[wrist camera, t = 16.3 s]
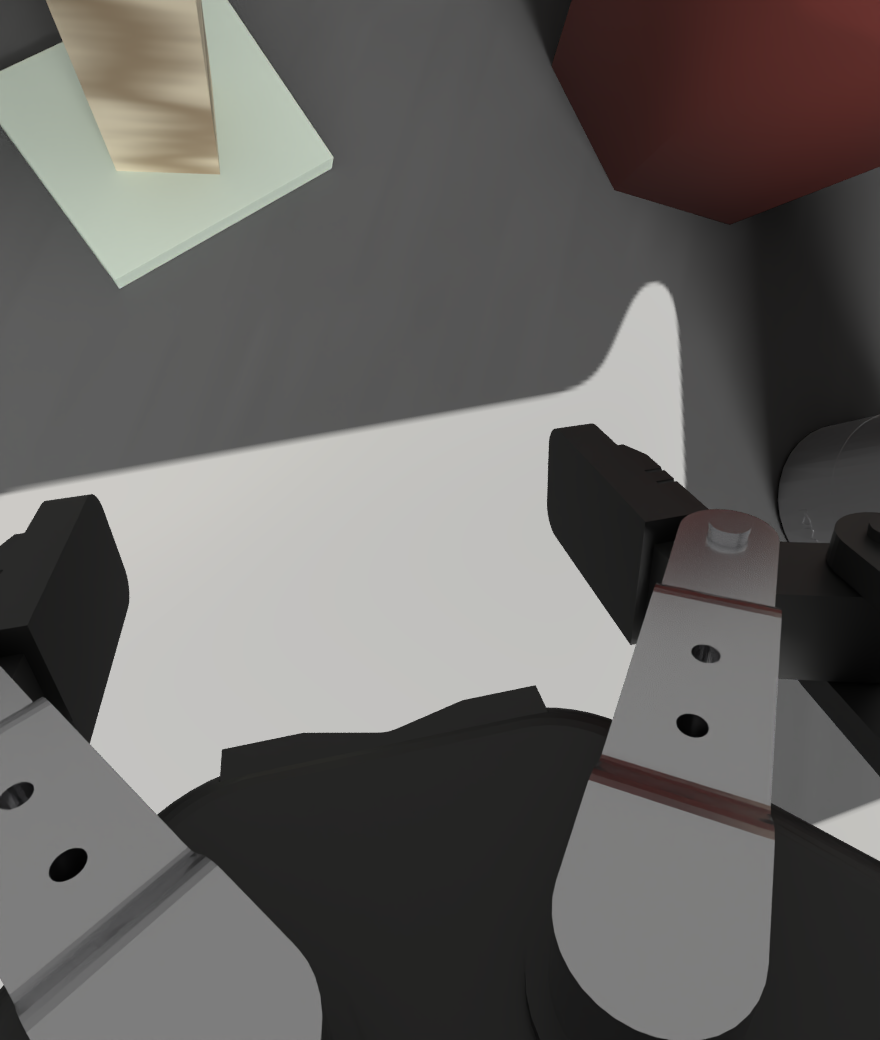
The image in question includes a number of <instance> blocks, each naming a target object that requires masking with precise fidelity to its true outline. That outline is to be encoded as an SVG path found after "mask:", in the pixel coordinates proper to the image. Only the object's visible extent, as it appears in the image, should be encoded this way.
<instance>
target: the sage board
mask: <svg viewBox="0 0 880 1040" xmlns="http://www.w3.org/2000/svg"><path fill="white" fill-rule="evenodd" d="M201 1H202V9H203V17H204V24H205V32H206V40H207V47H208V55H209V63H210V70H211V78H212V88H213V99H214V110H215V122H216V133H217V144H218V155H219V166H220V174H192V173H162V172H133V171H116V169H115V166H114V164H113V161H112V159H111V157H110V154H109V152H108V149H107V147H106V144H105V142H104V140H103V137H102V135H101V132H100V130H99V128H98V125H97V123H96V120H95V118H94V115H93V113H92V111H91V108H90V106H89V103H88V101H87V99H86V96H85V94H84V91H83V89H82V86H81V84H80V82H79V79H78V77H77V74H76V72H75V70H74V67H73V65H72V62H71V60H70V58H69V55H68V53H67V50H66V48H65V45H64V43H63V42H61V43H59V44H57V45H55V46H53V47H51V48H48V49H46V50H44V51H42V52H40V53H38V54H36V55H34V56H31V57H29V58H27V59H25V60H23V61H21V62H19V63H17V64H14V65H12V66H10V67H8V68H6V69H4V70H2V71H0V126H1V127H2V128H3V130H4V131H5V132H6V134H7V135H8V137H9V138H10V139H11V141H12V142H13V143H14V145H15V146H16V147H17V149H18V150H19V152H20V153H21V154H22V156H23V157H24V158H25V160H26V161H27V163H28V164H29V165H30V167H31V168H32V169H33V171H34V172H35V174H36V175H37V176H38V178H39V179H40V180H41V182H42V183H43V185H44V186H45V187H46V189H47V190H48V191H49V193H50V194H51V196H52V197H53V198H54V200H55V201H56V202H57V204H58V205H59V206H60V208H61V209H62V211H63V212H64V213H65V215H66V216H67V217H68V219H69V220H70V222H71V223H72V224H73V226H74V227H75V228H76V230H77V231H78V233H79V234H80V235H81V237H82V238H83V239H84V241H85V242H86V244H87V245H88V246H89V248H90V249H91V250H92V252H93V253H94V255H95V256H96V257H97V259H98V260H99V261H100V263H101V264H102V265H103V267H104V268H105V270H106V271H107V272H108V274H109V275H110V276H111V278H112V279H113V281H114V282H115V283H116V285H117V286H118V287H119V289H120V288H122V287H124V286H125V285H127V284H129V283H131V282H132V281H134V280H136V279H138V278H139V277H141V276H143V275H145V274H147V273H148V272H150V271H152V270H154V269H155V268H157V267H159V266H161V265H162V264H164V263H166V262H168V261H169V260H171V259H173V258H175V257H176V256H178V255H180V254H182V253H183V252H185V251H187V250H189V249H191V248H192V247H194V246H196V245H198V244H199V243H201V242H203V241H205V240H206V239H208V238H210V237H212V236H213V235H215V234H217V233H219V232H220V231H222V230H224V229H226V228H228V227H229V226H231V225H233V224H235V223H236V222H238V221H240V220H242V219H243V218H245V217H247V216H249V215H250V214H252V213H254V212H256V211H257V210H259V209H261V208H263V207H265V206H266V205H268V204H270V203H272V202H273V201H275V200H277V199H279V198H280V197H282V196H284V195H286V194H287V193H289V192H291V191H293V190H294V189H296V188H298V187H300V186H302V185H303V184H305V183H307V182H309V181H310V180H312V179H314V178H316V177H317V176H319V175H321V174H323V173H324V172H326V171H328V170H330V169H331V168H332V163H333V156H332V154H331V153H330V151H329V150H328V149H327V147H326V146H325V144H324V143H323V141H322V140H321V138H320V137H319V135H318V134H317V132H316V131H315V129H314V128H313V126H312V125H311V123H310V122H309V120H308V119H307V117H306V116H305V114H304V113H303V111H302V110H301V108H300V107H299V105H298V104H297V102H296V101H295V100H294V98H293V97H292V95H291V94H290V92H289V91H288V89H287V88H286V86H285V85H284V83H283V82H282V80H281V79H280V77H279V76H278V74H277V73H276V71H275V70H274V68H273V67H272V65H271V64H270V62H269V61H268V59H267V58H266V56H265V55H264V53H263V52H262V51H261V49H260V48H259V46H258V45H257V43H256V42H255V40H254V39H253V37H252V36H251V34H250V33H249V31H248V30H247V28H246V27H245V25H244V24H243V22H242V21H241V19H240V18H239V16H238V15H237V13H236V12H235V10H234V9H233V7H232V6H231V4H230V3H229V2H228V0H201Z"/></svg>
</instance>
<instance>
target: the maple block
mask: <svg viewBox="0 0 880 1040" xmlns="http://www.w3.org/2000/svg"><path fill="white" fill-rule="evenodd" d="M46 2H47V4H48V7H49V9H50V12H51V14H52V16H53V19H54V21H55V24H56V26H57V29H58V31H59V33H60V36H61V38H62V41H63V43H64V45H65V48H66V50H67V53H68V55H69V58H70V60H71V62H72V65H73V67H74V70H75V72H76V74H77V77H78V79H79V82H80V84H81V86H82V89H83V91H84V94H85V96H86V99H87V101H88V103H89V106H90V108H91V111H92V113H93V115H94V118H95V120H96V123H97V125H98V128H99V130H100V132H101V135H102V137H103V140H104V142H105V144H106V147H107V149H108V152H109V154H110V157H111V159H112V161H113V164H114V166H115V169H116V171H133V172H162V173H192V174H220V166H219V155H218V144H217V133H216V122H215V110H214V99H213V88H212V78H211V70H210V63H209V55H208V47H207V40H206V32H205V24H204V17H203V9H202V1H201V0H46Z"/></svg>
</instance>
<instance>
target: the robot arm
mask: <svg viewBox="0 0 880 1040" xmlns="http://www.w3.org/2000/svg"><path fill="white" fill-rule="evenodd" d="M548 460H549V461H548V493H547V510H548V517H549V521H550V525H551V528H552V531H553V533H554V535H555V536H556V538H557V539H558V541H559V542H560V544H561V545H562V546H563V548H564V549H565V551H566V552H567V553H568V555H569V557H570V558H571V559H572V561H573V562H574V564H575V565H576V567H577V568H578V570H579V571H580V572H581V574H582V575H583V577H584V578H585V580H586V581H587V583H588V584H589V585H590V587H591V588H592V590H593V591H594V593H595V594H596V595H597V597H598V598H599V600H600V601H601V603H602V604H603V606H604V607H605V609H606V610H607V611H608V613H609V614H610V616H611V617H612V619H613V620H614V622H615V623H616V624H617V626H618V627H619V629H620V630H621V632H622V633H623V635H624V636H625V637H626V639H627V640H628V642H629V643H630V645H632V644H636V647H635V650H634V654H633V657H632V660H631V663H630V666H629V669H628V672H627V676H626V679H625V682H624V685H623V689H622V691H621V695H620V698H619V701H618V704H617V708H616V710H615V714H614V717H613V720H611V719H609V718H606V717H603V716H599V715H596V714H592V713H588V712H583V711H578V710H572V709H563V708H546V707H545V704H544V702H543V701H542V698H541V696H540V694H539V692H538V690H537V688H536V686H530V687H525V688H520V689H516V690H510V691H506V692H501V693H496V694H491V695H486V696H482V697H477V698H472V699H467V700H462V701H460V702H458V703H455V704H453V705H451V706H448V707H446V708H444V709H441V710H439V711H437V712H434V713H432V714H430V715H428V716H425V717H423V718H421V719H418V720H416V721H414V722H411V723H409V724H407V725H405V726H402V727H400V728H398V729H395V730H392V731H389V732H383V733H301V734H296V735H291V736H286V737H281V738H276V739H271V740H266V741H262V742H257V743H252V744H247V745H242V746H237V747H232V748H228V749H223V750H222V758H221V772H220V776H219V777H217V778H215V779H213V780H210V781H208V782H206V783H204V784H203V785H201V786H199V787H197V788H196V789H193V790H192V791H190V792H188V793H187V794H185V795H184V796H182V797H181V798H179V799H177V800H176V801H174V802H173V803H172V804H170V805H169V806H168V807H166V808H165V809H164V810H163V811H161V812H160V813H159V814H158V815H156V813H155V812H154V811H153V810H152V809H151V808H150V807H149V806H148V805H147V804H146V803H145V802H144V801H143V800H142V799H141V798H140V797H139V795H138V794H137V793H136V792H135V791H134V790H133V789H132V788H131V787H130V786H129V785H128V784H127V783H126V782H125V781H124V780H123V779H122V778H121V777H120V776H119V774H118V773H117V772H116V771H114V769H113V768H112V767H111V766H110V765H109V764H108V763H107V762H106V761H105V760H104V759H103V758H102V757H101V755H99V753H97V751H96V750H95V749H94V748H93V747H92V746H91V745H90V741H91V737H92V734H93V730H94V726H95V723H96V719H97V716H98V712H99V709H100V705H101V702H102V698H103V694H104V691H105V687H106V684H107V680H108V677H109V673H110V670H111V666H112V662H113V659H114V656H115V652H116V648H117V645H118V641H119V638H120V634H121V631H122V627H123V623H124V620H125V617H126V613H127V609H128V605H129V586H128V579H127V575H126V571H125V568H124V566H123V563H122V560H121V557H120V554H119V552H118V549H117V546H116V543H115V541H114V538H113V535H112V532H111V529H110V527H109V524H108V521H107V519H106V516H105V513H104V510H103V508H102V505H101V503H100V501H99V500H98V499H97V497H96V496H95V495H93V494H91V495H84V496H77V497H70V498H63V499H56V500H49V501H44V502H43V503H42V504H41V506H40V508H39V509H38V511H37V513H36V514H35V516H34V518H33V520H32V522H31V523H30V525H29V527H28V528H27V530H26V532H25V533H22V534H16V535H13V536H12V537H11V538H10V539H8V540H7V541H6V542H5V543H3V544H2V545H1V546H0V979H1V981H2V982H3V984H4V985H3V987H2V988H1V989H0V1040H880V861H878V860H876V859H874V858H873V857H871V856H869V855H867V854H865V853H863V852H862V851H860V850H858V849H856V848H854V847H852V846H850V845H848V844H847V843H844V842H843V841H841V840H839V839H837V838H835V837H833V836H832V835H830V834H828V833H826V832H824V831H822V830H821V829H819V828H817V827H815V826H813V825H811V824H809V823H808V822H806V821H804V820H802V819H800V818H798V817H796V816H794V815H793V814H791V813H789V812H787V811H785V810H783V809H781V808H780V807H778V806H776V805H774V804H772V803H771V791H772V774H773V757H774V740H775V723H776V706H777V689H778V679H794V680H798V681H799V682H800V683H801V685H802V686H803V687H804V688H805V689H806V691H807V692H808V693H809V694H810V695H811V697H812V698H813V699H814V700H815V701H816V702H817V704H818V705H819V706H820V707H821V708H822V709H823V711H824V712H825V713H826V714H827V715H828V716H829V718H830V719H831V720H832V721H833V722H834V723H835V725H836V726H837V727H838V728H839V729H840V731H841V732H842V733H843V734H844V735H845V736H846V738H847V739H848V740H849V741H850V742H851V743H852V745H853V746H854V747H855V748H856V749H857V750H858V752H859V753H860V754H861V755H862V756H863V757H864V759H865V760H866V761H867V762H868V763H869V765H870V766H871V767H872V768H873V769H874V770H875V772H876V773H877V774H878V775H879V776H880V415H876V416H872V417H867V418H863V419H858V420H854V421H849V422H845V423H840V424H836V425H831V426H827V427H823V428H820V429H818V430H816V431H814V432H812V433H810V434H809V435H808V436H806V437H805V438H804V439H803V440H801V441H800V442H799V443H798V445H797V446H796V447H795V448H794V450H793V451H792V452H791V453H790V455H789V457H788V459H787V462H786V464H785V466H784V468H783V471H782V475H781V479H780V483H779V494H778V504H779V513H780V519H781V522H782V525H783V529H784V532H785V534H786V536H787V538H788V540H789V542H780V540H779V536H778V534H777V532H776V531H775V530H774V528H772V527H771V526H770V525H769V524H767V523H766V522H764V521H763V520H761V519H759V518H757V517H754V516H752V515H749V514H746V513H742V512H738V511H733V510H724V509H710V510H709V509H708V508H706V507H705V506H704V505H703V504H702V503H701V502H700V501H699V500H697V499H696V498H695V497H694V496H693V495H692V494H691V493H690V492H688V491H687V490H686V489H685V488H684V487H683V486H682V485H680V484H679V483H678V482H677V481H676V482H674V478H673V477H671V476H670V475H669V474H668V473H667V472H666V471H664V470H663V471H662V469H661V467H660V466H659V465H658V464H657V463H655V462H654V461H653V460H652V459H651V458H650V457H649V456H648V455H646V454H644V453H642V452H639V451H637V450H635V449H633V448H630V447H628V446H625V445H617V444H615V443H614V442H613V441H612V440H611V439H610V438H609V437H608V436H607V435H606V434H604V433H603V431H601V430H600V429H599V428H598V427H597V426H596V425H595V424H585V425H578V426H571V427H564V428H557V429H554V430H553V431H552V432H551V435H550V439H549V459H548Z"/></svg>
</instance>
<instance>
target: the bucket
mask: <svg viewBox="0 0 880 1040" xmlns="http://www.w3.org/2000/svg"><path fill="white" fill-rule="evenodd" d="M552 68H553V70H554V72H555V74H556V76H557V78H558V80H559V82H560V84H561V86H562V88H563V90H564V92H565V94H566V96H567V98H568V100H569V102H570V103H571V105H572V107H573V109H574V111H575V113H576V115H577V117H578V119H579V121H580V123H581V125H582V127H583V129H584V131H585V133H586V135H587V137H588V139H589V141H590V143H591V145H592V147H593V149H594V151H595V153H596V155H597V157H598V159H599V161H600V163H601V164H602V166H603V168H604V170H605V172H606V174H607V176H608V178H609V180H610V182H611V184H612V186H613V188H614V190H616V191H620V192H623V193H626V194H630V195H633V196H636V197H640V198H643V199H646V200H650V201H653V202H656V203H659V204H663V205H666V206H669V207H673V208H676V209H679V210H683V211H686V212H689V213H693V214H696V215H699V216H703V217H706V218H709V219H713V220H716V221H719V222H723V223H726V224H729V225H730V224H733V223H735V222H738V221H740V220H743V219H746V218H748V217H751V216H753V215H756V214H758V213H761V212H764V211H766V210H769V209H771V208H774V207H777V206H779V205H782V204H784V203H787V202H789V201H792V200H795V199H797V198H800V197H802V196H805V195H807V194H810V193H813V192H815V191H818V190H820V189H823V188H825V187H828V186H831V185H833V184H836V183H838V182H841V181H843V180H846V179H849V178H851V177H854V176H856V175H859V174H862V173H864V172H867V171H869V170H872V169H874V168H877V167H880V0H572V1H571V4H570V8H569V11H568V14H567V17H566V21H565V24H564V27H563V30H562V34H561V37H560V40H559V43H558V47H557V50H556V53H555V56H554V60H553V63H552Z"/></svg>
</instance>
